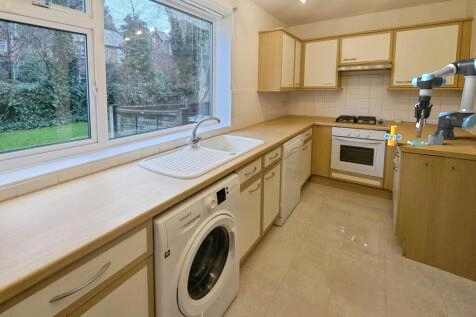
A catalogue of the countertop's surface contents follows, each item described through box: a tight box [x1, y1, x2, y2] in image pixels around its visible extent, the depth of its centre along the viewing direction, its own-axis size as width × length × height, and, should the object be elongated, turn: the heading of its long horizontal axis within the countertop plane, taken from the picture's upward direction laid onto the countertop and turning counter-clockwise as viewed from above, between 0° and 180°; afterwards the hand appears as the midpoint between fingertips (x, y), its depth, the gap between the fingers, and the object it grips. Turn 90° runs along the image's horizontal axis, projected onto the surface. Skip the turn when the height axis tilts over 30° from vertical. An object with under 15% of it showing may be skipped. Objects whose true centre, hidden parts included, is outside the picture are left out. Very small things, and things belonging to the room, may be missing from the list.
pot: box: [427, 134, 444, 146], centre depth 212 cm, size 7×7×8 cm
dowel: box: [416, 114, 424, 139], centre depth 209 cm, size 3×3×17 cm
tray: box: [406, 140, 430, 147], centre depth 213 cm, size 11×10×2 cm
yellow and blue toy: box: [384, 125, 403, 147], centre depth 213 cm, size 12×10×15 cm
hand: (420, 127), depth 209 cm, fingers closed on dowel, 3 cm apart
